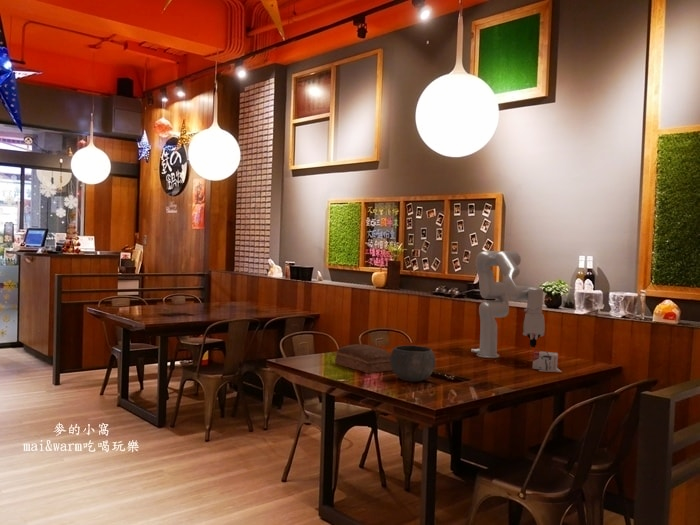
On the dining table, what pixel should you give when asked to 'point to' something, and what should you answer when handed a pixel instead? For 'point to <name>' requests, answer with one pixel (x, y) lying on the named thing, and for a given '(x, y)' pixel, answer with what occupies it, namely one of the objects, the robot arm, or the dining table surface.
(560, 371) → the mat
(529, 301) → the robot arm
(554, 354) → the ink box
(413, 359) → the bowl
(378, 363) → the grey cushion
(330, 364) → the dining table surface
